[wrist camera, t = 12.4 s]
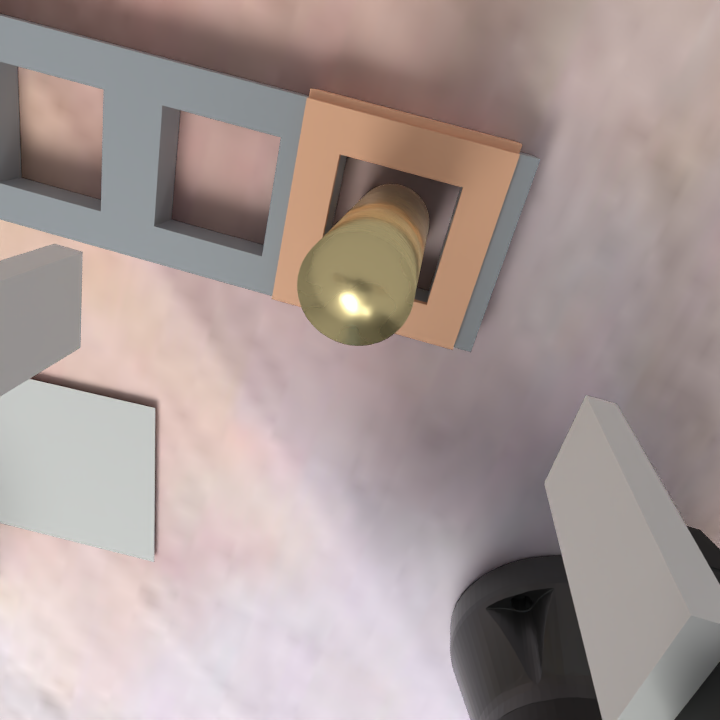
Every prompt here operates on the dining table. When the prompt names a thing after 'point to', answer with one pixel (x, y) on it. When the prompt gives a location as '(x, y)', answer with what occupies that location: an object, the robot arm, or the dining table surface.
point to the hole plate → (291, 183)
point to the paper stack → (78, 467)
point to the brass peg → (366, 268)
